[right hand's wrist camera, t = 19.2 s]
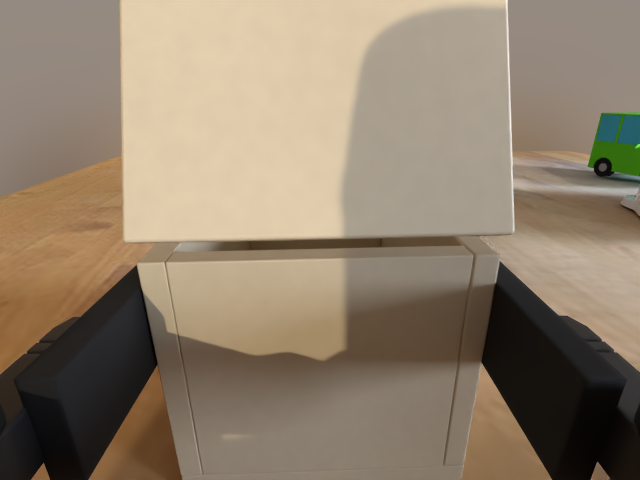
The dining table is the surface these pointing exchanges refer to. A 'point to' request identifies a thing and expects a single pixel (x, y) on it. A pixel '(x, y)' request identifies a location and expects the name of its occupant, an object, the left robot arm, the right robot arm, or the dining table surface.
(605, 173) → the toy car
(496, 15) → the lid
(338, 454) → the chest
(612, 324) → the dining table surface
